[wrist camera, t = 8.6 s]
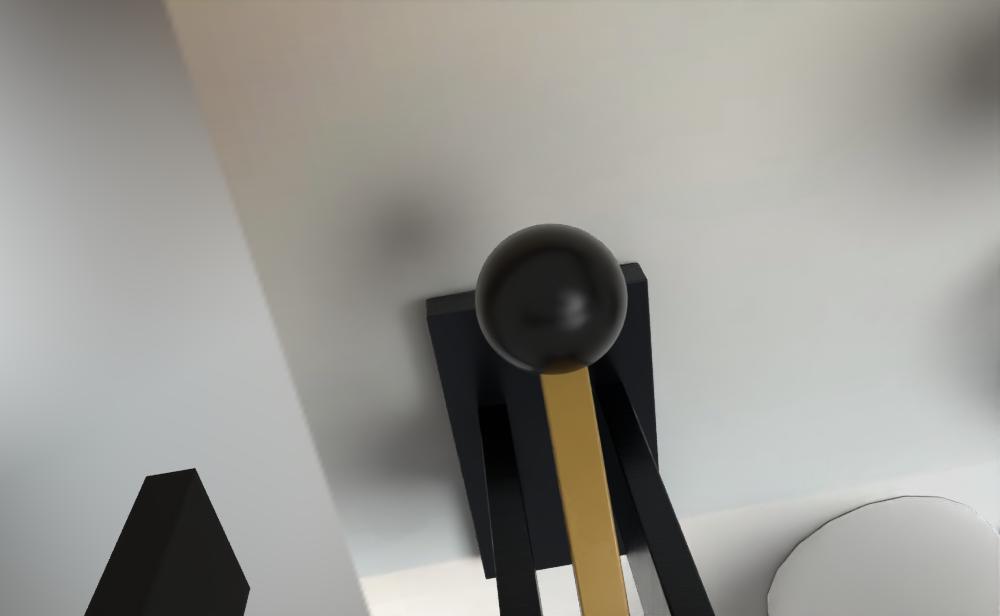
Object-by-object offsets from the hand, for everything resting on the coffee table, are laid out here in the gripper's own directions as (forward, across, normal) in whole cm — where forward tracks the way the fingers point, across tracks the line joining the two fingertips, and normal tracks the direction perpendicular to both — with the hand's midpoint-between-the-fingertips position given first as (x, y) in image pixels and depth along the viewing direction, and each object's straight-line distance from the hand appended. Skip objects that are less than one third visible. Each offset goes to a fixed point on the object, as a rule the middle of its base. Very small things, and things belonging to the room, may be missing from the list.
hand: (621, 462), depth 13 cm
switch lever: (+6, 0, -6) cm, 8 cm away
